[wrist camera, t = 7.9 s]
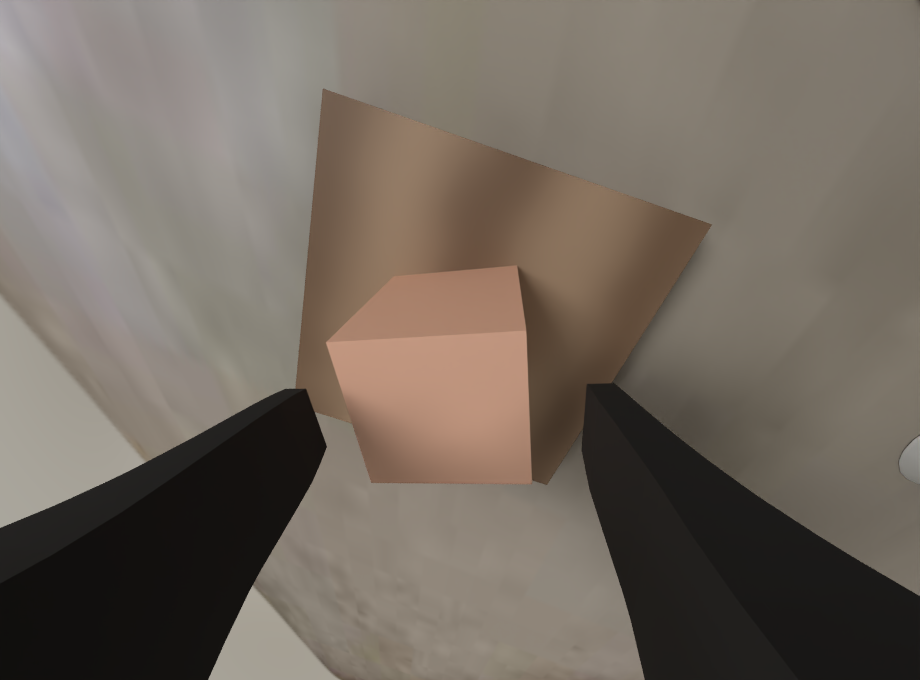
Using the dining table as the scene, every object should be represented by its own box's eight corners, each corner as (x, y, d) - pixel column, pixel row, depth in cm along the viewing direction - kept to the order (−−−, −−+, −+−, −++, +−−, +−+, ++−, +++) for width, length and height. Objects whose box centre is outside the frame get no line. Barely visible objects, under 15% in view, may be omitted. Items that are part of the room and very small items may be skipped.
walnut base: (673, 214, 14) (712, 224, 12) (541, 444, 21) (546, 484, 18) (357, 103, 14) (322, 88, 11) (321, 374, 20) (294, 405, 18)
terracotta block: (517, 265, 13) (526, 330, 8) (522, 374, 15) (531, 484, 10) (393, 276, 14) (325, 342, 9) (415, 379, 16) (371, 482, 11)
